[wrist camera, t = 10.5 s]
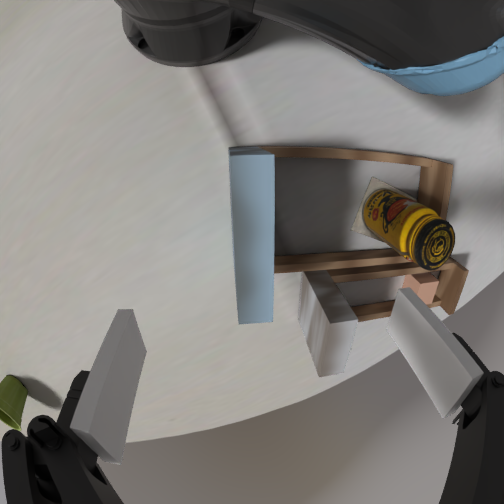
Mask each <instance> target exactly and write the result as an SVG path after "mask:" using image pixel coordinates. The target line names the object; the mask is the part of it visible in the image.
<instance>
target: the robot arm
mask: <svg viewBox="0 0 504 504" xmlns="http://www.w3.org/2000/svg"><path fill="white" fill-rule="evenodd" d="M114 1H115V2H116V3H117V4H118V5H119V6H120V7H121V8H122V23H123V29H124V32H125V34H126V36H127V38H128V40H129V42H130V43H131V44H132V45H133V46H134V47H135V48H136V49H137V50H138V51H139V52H140V53H142V54H143V55H144V56H145V57H147V58H149V59H150V60H153V61H155V62H157V63H160V64H164V65H168V66H175V67H192V66H200V65H205V64H209V63H212V62H215V61H218V60H221V59H223V58H225V57H227V56H229V55H231V54H233V53H234V52H236V51H237V50H239V49H240V48H241V47H243V46H244V45H245V44H246V43H247V42H248V41H249V40H250V39H251V38H252V36H253V35H254V34H255V32H256V31H257V29H258V27H259V25H260V22H261V19H262V17H264V18H267V19H270V20H273V21H276V22H279V23H282V24H284V25H287V26H290V27H292V28H295V29H297V30H300V31H302V32H305V33H307V34H309V35H311V36H314V37H316V38H318V39H320V40H322V41H324V42H326V43H328V44H330V45H332V46H334V47H336V48H338V49H340V50H342V51H344V52H345V53H347V54H349V55H351V56H353V57H354V58H356V59H357V60H358V61H359V62H361V63H362V64H363V65H364V66H366V67H367V68H369V69H371V70H374V71H377V72H381V73H384V74H385V75H387V76H389V77H390V78H392V79H393V80H395V81H397V82H398V83H400V84H401V85H403V86H405V87H407V88H408V89H411V90H413V91H415V92H418V93H422V94H434V95H439V96H451V95H459V94H463V93H467V92H471V91H474V90H476V89H479V88H481V87H483V86H485V85H487V84H489V83H491V82H492V81H494V80H495V79H497V78H498V77H499V76H501V75H502V74H503V73H504V0H114ZM386 330H387V331H388V333H389V334H390V336H391V337H392V339H393V340H394V342H395V343H396V345H397V346H398V348H399V349H400V351H401V352H402V354H403V355H404V357H405V358H406V360H407V361H408V363H409V364H410V366H411V367H412V369H413V371H414V372H415V374H416V375H417V377H418V379H419V380H420V382H421V383H422V385H423V387H424V388H425V390H426V391H427V393H428V395H429V397H430V398H431V400H432V402H433V403H434V405H435V406H436V408H437V410H438V412H439V413H440V415H441V417H442V419H444V418H445V417H447V416H449V415H451V414H453V413H455V411H456V410H457V409H458V408H459V406H460V405H461V406H462V408H463V409H462V411H461V412H460V413H459V414H458V415H457V417H456V418H455V419H454V420H453V423H452V424H455V422H456V421H457V420H458V419H459V422H458V423H457V425H458V431H457V437H456V442H455V447H454V452H453V457H452V461H451V465H450V469H449V473H448V477H447V480H446V483H445V487H444V490H443V493H442V496H441V499H440V502H439V504H504V375H503V374H502V373H500V372H498V371H492V372H490V371H489V370H488V369H487V368H486V366H485V365H484V364H483V363H482V361H481V360H480V359H479V358H478V356H477V355H476V354H475V353H474V352H473V350H472V349H471V348H470V347H469V346H468V344H467V343H466V342H465V341H464V340H463V339H462V338H461V337H460V336H458V335H457V334H455V333H451V332H450V331H449V330H448V328H447V327H446V326H445V325H444V324H443V323H442V322H441V320H440V319H439V318H438V317H437V316H436V315H435V314H434V313H433V312H432V311H431V309H430V308H429V307H428V306H427V305H426V304H425V303H424V302H423V301H422V300H421V299H420V298H419V297H418V296H417V295H416V293H415V292H414V291H413V290H412V289H411V288H410V287H408V288H401V289H398V292H397V296H396V300H395V303H394V307H393V310H392V313H391V316H390V320H389V323H388V326H387V329H386ZM146 352H147V351H146V348H145V345H144V342H143V340H142V337H141V334H140V331H139V328H138V325H137V321H136V318H135V315H134V312H133V309H118V311H117V313H116V315H115V317H114V320H113V322H112V324H111V326H110V328H109V330H108V332H107V334H106V337H105V339H104V341H103V343H102V345H101V348H100V350H99V352H98V355H97V357H96V359H95V362H94V364H93V366H92V369H91V371H83V370H82V371H81V372H80V373H79V374H78V375H77V376H76V377H75V378H74V380H73V382H72V384H71V387H70V390H69V391H68V394H67V398H66V399H65V401H64V404H63V406H62V409H61V412H60V414H59V417H58V420H57V422H55V421H54V420H53V419H52V418H51V417H49V416H46V415H40V416H36V417H35V418H33V419H32V420H31V422H30V423H29V425H28V428H27V435H28V437H25V436H24V435H23V434H22V433H21V432H20V431H18V430H16V429H12V430H9V431H7V432H6V433H5V434H4V436H3V438H2V463H3V476H4V485H5V493H6V499H7V504H124V503H123V502H122V501H121V499H120V498H119V496H118V495H117V493H116V492H115V490H114V489H113V487H112V486H111V484H110V483H109V481H108V479H107V478H106V476H105V475H104V473H103V471H102V470H101V468H100V466H99V465H98V464H97V457H98V456H99V457H100V458H101V459H102V460H103V461H105V462H109V463H114V464H120V465H121V463H122V458H123V452H124V447H125V442H126V436H127V431H128V427H129V422H130V417H131V413H132V408H133V404H134V399H135V395H136V391H137V387H138V383H139V379H140V375H141V371H142V367H143V363H144V359H145V356H146Z"/></svg>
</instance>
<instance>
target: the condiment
mask: <svg viewBox="0 0 504 504" xmlns="http://www.w3.org/2000/svg"><path fill="white" fill-rule="evenodd" d="M351 231H354V232H357V233H360V234H363V235H366V236H369V237H371V238H374V239H377V240H379V241H382V242H385V243H387V244H388V245H389V246H390V247H392V248H393V249H394V250H395V251H397V252H398V253H399V254H400V255H401V256H403V257H404V258H405V259H407V260H409V261H411V262H415V263H416V264H418V265H419V266H420V267H421V268H423V269H425V270H430V271H432V270H436V269H438V268H439V267H441V266H442V265H443V264H445V262H446V261H447V260H448V259H449V257H450V256H451V253H452V251H453V248H454V245H455V233H454V230H453V227H452V226H451V225H450V224H449V222H447V221H446V220H443V219H442V218H441V217H439V216H438V215H437V213H436V212H435V211H434V210H433V209H431V208H429V207H426V206H425V205H422V204H420V203H418V202H417V199H415V198H413V197H411V196H410V195H408V194H406V193H404V192H402V191H400V190H398V189H396V188H394V187H392V186H390V185H388V184H386V183H384V182H382V181H380V180H378V179H376V178H374V177H372V178H371V181H370V183H369V186H368V188H367V190H366V193H365V195H364V198H363V200H362V203H361V206H360V208H359V210H358V213H357V216H356V219H355V221H354V224H353V226H352V228H351Z"/></svg>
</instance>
